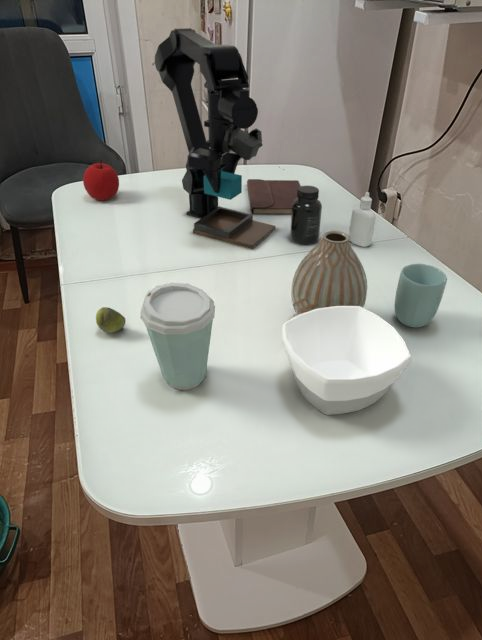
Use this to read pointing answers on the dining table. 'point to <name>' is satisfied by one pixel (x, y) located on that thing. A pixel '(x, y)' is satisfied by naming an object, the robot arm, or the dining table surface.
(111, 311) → the lime
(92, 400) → the dining table surface
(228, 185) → the block
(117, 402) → the dining table surface
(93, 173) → the apple
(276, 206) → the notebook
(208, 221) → the brown wooden tray
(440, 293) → the cup
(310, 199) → the supplement bottle
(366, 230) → the eye dropper bottle
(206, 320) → the disposable coffee cup
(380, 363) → the bowl
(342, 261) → the vase
